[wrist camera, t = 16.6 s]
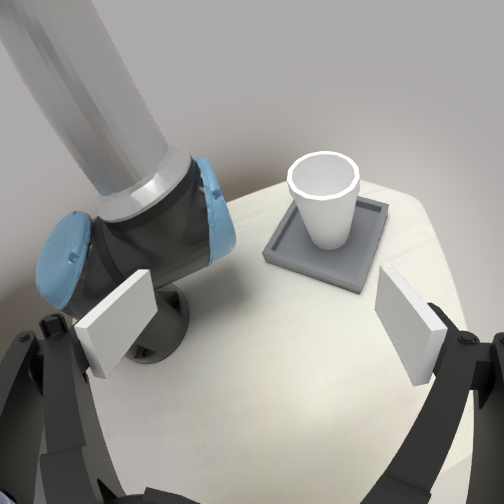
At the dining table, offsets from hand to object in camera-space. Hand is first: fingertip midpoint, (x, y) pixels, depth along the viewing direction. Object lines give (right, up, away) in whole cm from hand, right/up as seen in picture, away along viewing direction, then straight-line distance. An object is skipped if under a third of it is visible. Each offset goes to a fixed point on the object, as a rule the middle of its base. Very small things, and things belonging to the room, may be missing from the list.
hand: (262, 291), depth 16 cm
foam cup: (+12, +5, +30) cm, 33 cm away
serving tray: (+12, +5, +31) cm, 33 cm away
